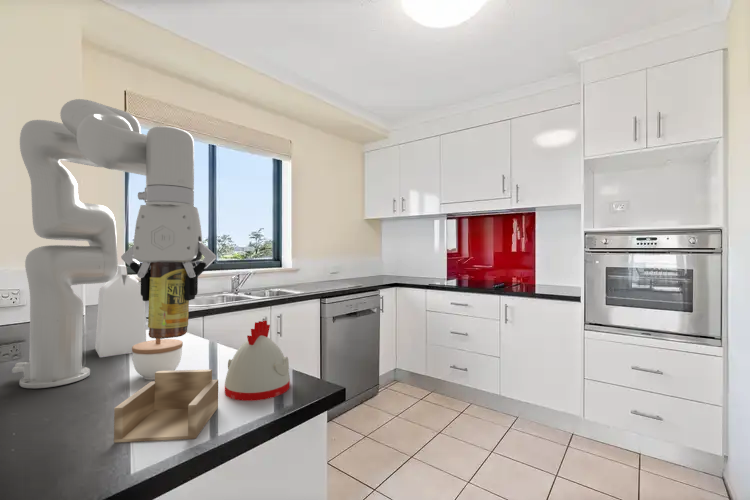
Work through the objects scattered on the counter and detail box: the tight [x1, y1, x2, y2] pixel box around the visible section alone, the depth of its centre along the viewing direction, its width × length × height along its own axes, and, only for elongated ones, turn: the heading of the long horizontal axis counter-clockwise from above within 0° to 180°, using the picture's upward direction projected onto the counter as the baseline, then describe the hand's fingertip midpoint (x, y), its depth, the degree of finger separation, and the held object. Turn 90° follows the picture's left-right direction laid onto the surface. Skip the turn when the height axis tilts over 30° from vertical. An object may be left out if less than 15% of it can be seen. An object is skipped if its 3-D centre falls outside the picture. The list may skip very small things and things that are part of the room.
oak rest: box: [113, 369, 219, 444], centre depth 66 cm, size 12×12×8 cm
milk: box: [94, 264, 147, 358], centre depth 114 cm, size 12×12×26 cm
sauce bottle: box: [147, 262, 190, 339], centre depth 66 cm, size 7×6×20 cm
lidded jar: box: [132, 338, 183, 381], centre depth 91 cm, size 11×11×9 cm
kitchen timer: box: [224, 320, 291, 402], centre depth 83 cm, size 14×14×15 cm
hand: (169, 298), depth 66 cm, fingers closed on sauce bottle, 6 cm apart
